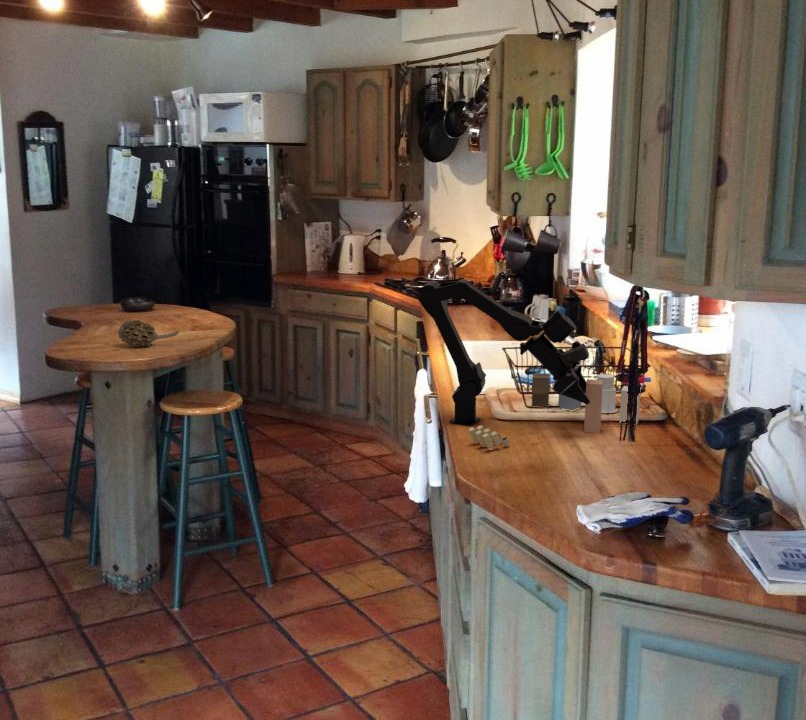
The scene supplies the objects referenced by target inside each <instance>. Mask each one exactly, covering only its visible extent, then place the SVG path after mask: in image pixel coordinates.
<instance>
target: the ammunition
mask: <svg viewBox="0 0 806 720" xmlns="http://www.w3.org/2000/svg"><path fill="white" fill-rule="evenodd" d="M468 434H469V435H470V437H471V440H472V442H473V443H475V442H479V444H480V446H481V445H486V448H487V449H488V448H491V449H492V448H494V446H497V447H498V446H500V445H502V444H503V445H504V447H506V446H509V447H510V441H509V437H508V436H504V437H502V436H501V434H500V433H498V432H497V431H493V430H491V429H490V428H485V429H484V426H483V425H478V426H476V427H472V426H470V427H469V429H468ZM501 443H502V444H501Z"/></svg>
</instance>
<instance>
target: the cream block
mask: <svg viewBox="0 0 806 720" xmlns="http://www.w3.org/2000/svg"><path fill="white" fill-rule="evenodd" d="M628 386H629V385H623V387H622V388H621V390H620V407H619V408H620V409H619V423H620V424H622V423H621V422H622V421H623V422H625V421H626V420H627V402H628V393H627V392H628ZM641 389H642V388H641V387H640V393H639V394H638V396H637V415H636V424H635V425H638V423H639V420H640V407H641V392H642V391H641Z"/></svg>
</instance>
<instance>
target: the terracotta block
mask: <svg viewBox="0 0 806 720" xmlns="http://www.w3.org/2000/svg"><path fill="white" fill-rule="evenodd" d="M602 387H603V380H597V379H589V378H588V379H586V393H585V394H586V396H587V397H588V399H589V400H590V403H589V404H585V403H584V407H585V408H584V429H583V431H584V433H593V434H594V433H597V434H600V433H601V427H602V425H601V424H602V423H601V422H602V413H601V408H602Z"/></svg>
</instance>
